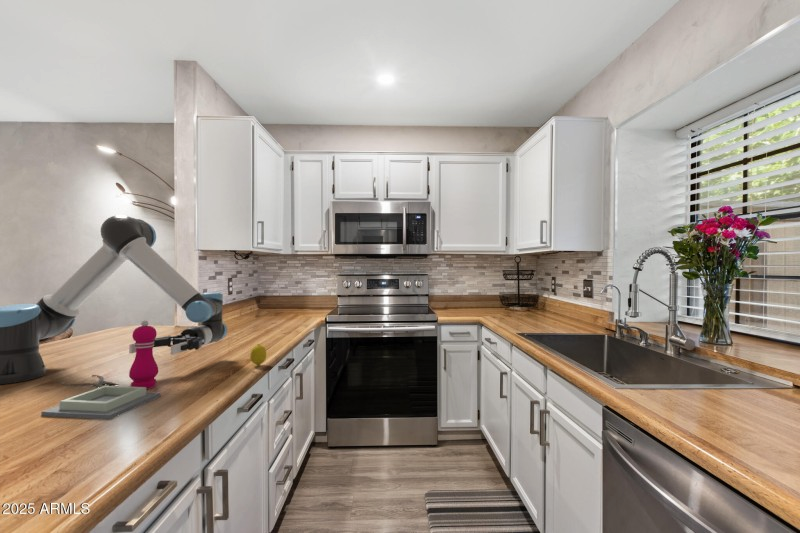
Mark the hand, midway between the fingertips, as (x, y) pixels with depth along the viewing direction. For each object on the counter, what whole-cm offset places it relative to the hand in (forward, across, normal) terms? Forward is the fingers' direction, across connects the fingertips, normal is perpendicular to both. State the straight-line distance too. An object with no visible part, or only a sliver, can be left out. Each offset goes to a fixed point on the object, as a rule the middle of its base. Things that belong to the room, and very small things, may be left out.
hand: (150, 349), depth 113 cm
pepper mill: (+2, +1, -11) cm, 11 cm away
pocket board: (+17, -1, -11) cm, 20 cm away
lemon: (-26, -22, -11) cm, 36 cm away
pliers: (-1, +19, -12) cm, 22 cm away
